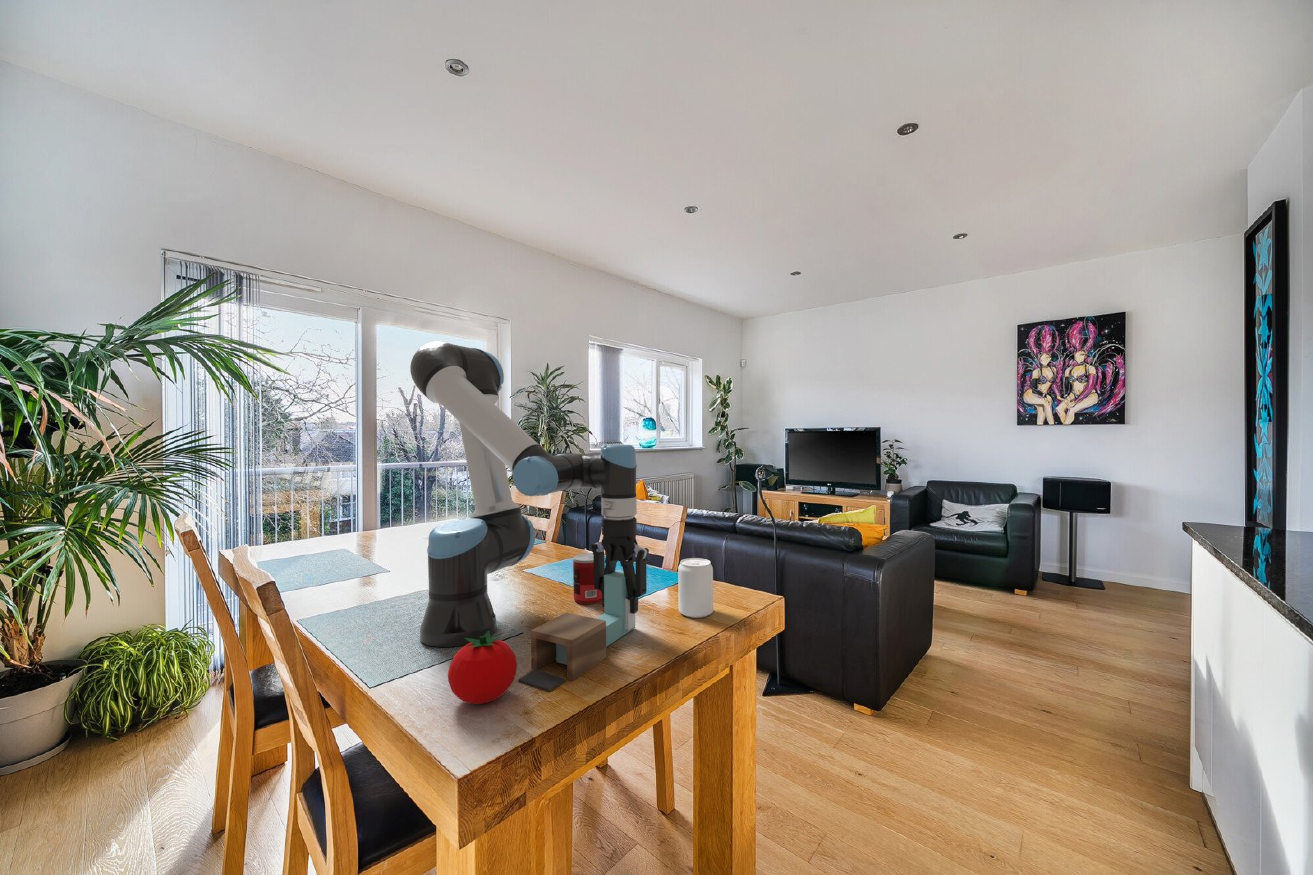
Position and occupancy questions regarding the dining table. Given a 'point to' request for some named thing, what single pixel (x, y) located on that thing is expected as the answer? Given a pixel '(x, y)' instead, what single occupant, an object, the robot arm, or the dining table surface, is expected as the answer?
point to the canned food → (585, 580)
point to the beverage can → (695, 587)
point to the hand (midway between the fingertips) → (620, 625)
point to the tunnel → (570, 643)
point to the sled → (608, 612)
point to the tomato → (482, 670)
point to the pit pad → (541, 680)
